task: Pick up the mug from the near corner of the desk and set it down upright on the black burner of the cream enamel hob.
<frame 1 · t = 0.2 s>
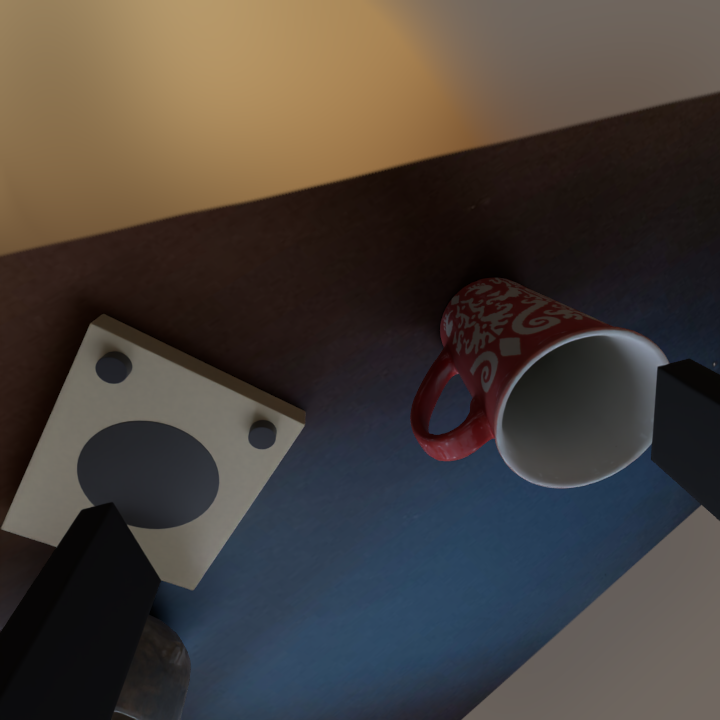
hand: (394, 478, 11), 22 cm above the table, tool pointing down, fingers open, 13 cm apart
stove: (158, 462, 36), on the table
bowl: (126, 625, 44), on the table
mug: (464, 330, 34), on the table
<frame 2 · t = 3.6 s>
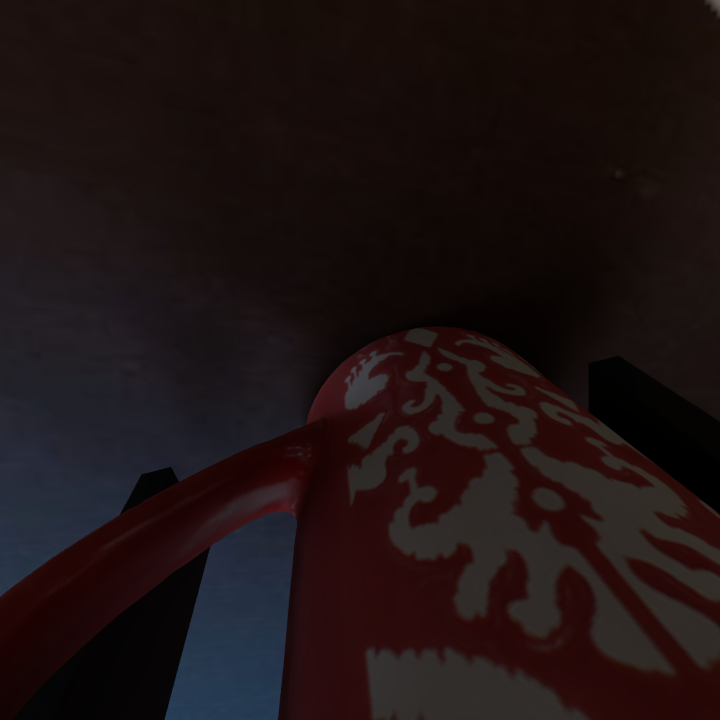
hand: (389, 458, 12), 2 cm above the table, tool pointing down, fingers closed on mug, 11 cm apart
mug: (373, 414, 13), on the table, touching gripper
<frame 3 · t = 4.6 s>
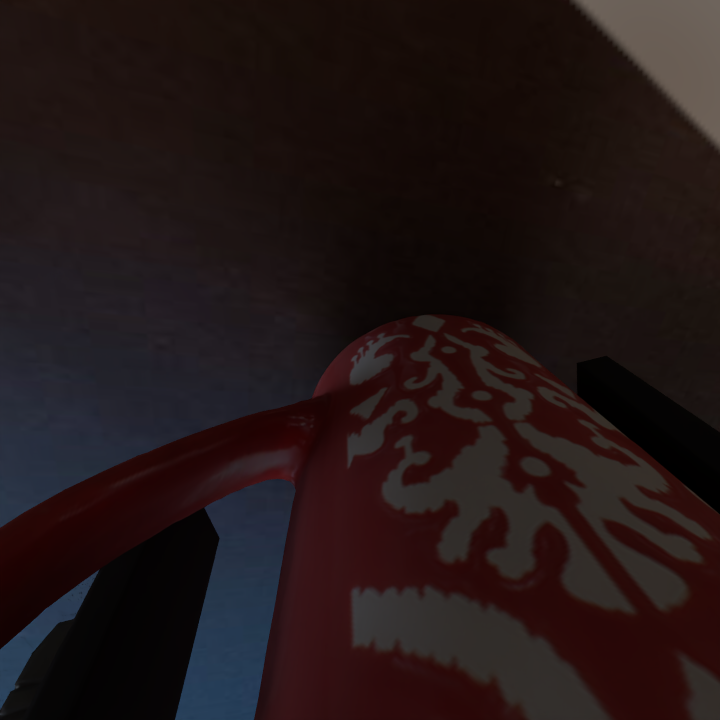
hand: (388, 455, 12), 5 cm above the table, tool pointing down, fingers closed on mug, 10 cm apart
mug: (376, 397, 14), point 2 cm above the table, touching gripper
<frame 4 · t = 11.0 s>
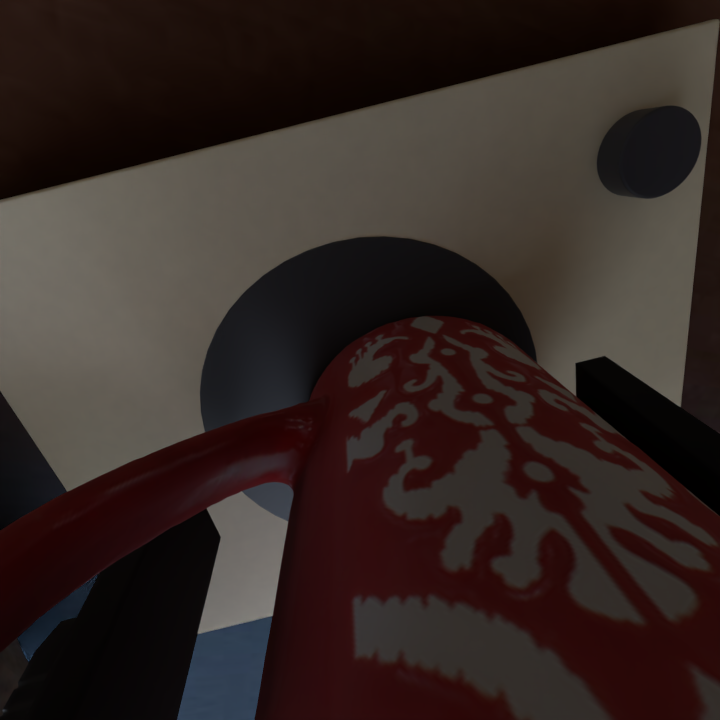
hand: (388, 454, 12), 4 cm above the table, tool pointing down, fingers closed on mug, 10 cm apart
stove: (367, 379, 16), on the table
mug: (374, 399, 14), point 2 cm above the table, touching gripper, stove
when the fingers open (4 cm above the table, at t = 11.3 s): mug stays where it is, resting on stove.
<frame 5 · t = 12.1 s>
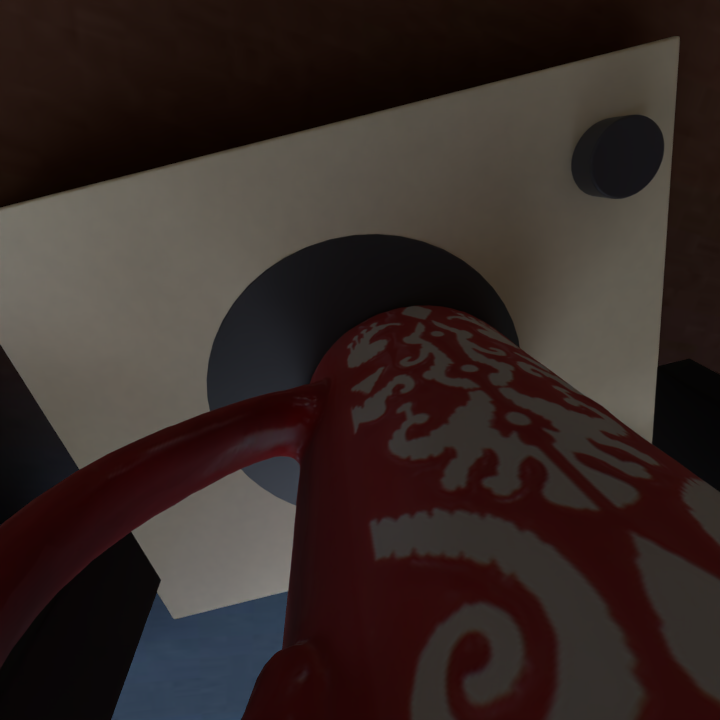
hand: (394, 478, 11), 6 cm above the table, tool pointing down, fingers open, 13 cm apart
stove: (362, 369, 17), on the table
mug: (368, 385, 15), point 2 cm above the table, touching stove
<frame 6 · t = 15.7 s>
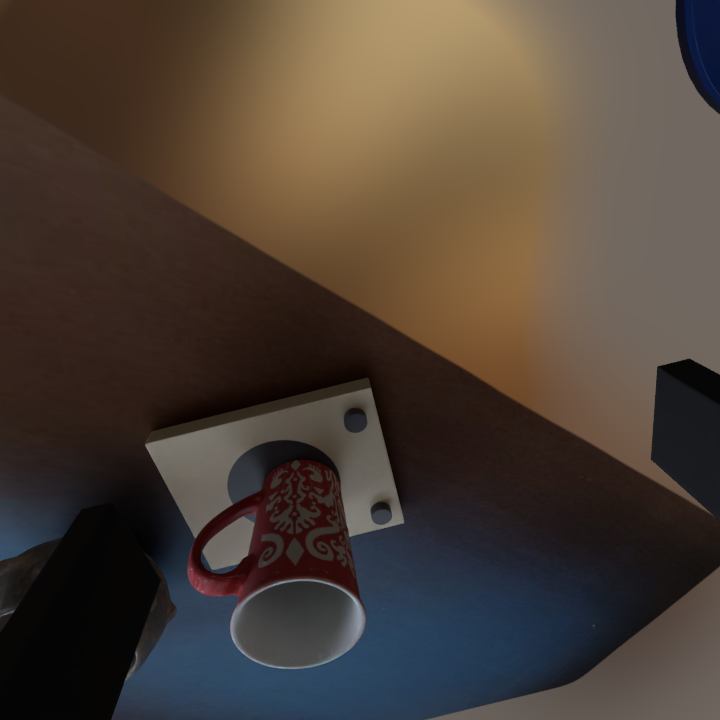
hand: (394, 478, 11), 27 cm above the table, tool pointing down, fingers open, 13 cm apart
stove: (286, 472, 43), on the table
bowl: (111, 556, 46), on the table
mug: (284, 483, 41), point 2 cm above the table, touching stove
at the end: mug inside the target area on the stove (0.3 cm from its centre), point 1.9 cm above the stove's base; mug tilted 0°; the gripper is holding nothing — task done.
